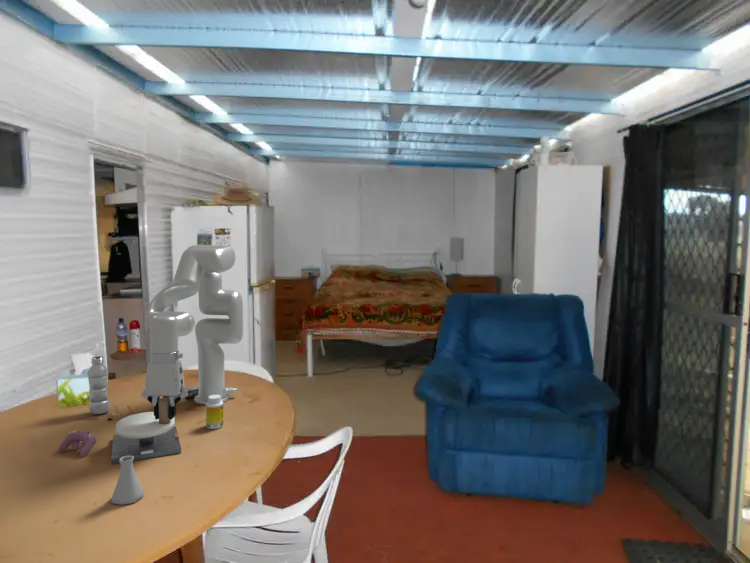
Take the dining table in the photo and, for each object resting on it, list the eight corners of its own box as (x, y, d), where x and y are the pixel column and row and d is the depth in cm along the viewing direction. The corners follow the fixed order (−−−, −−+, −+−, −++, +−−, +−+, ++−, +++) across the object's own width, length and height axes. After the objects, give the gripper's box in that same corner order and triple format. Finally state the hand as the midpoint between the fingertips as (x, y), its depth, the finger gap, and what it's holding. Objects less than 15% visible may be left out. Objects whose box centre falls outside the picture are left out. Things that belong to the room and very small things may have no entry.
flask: (118, 490, 125) (117, 452, 124) (148, 490, 126) (147, 451, 125) (105, 506, 118) (104, 465, 117) (137, 505, 118) (136, 464, 117)
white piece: (136, 416, 159) (135, 388, 158) (184, 419, 157) (184, 391, 156) (103, 436, 143) (102, 405, 142) (156, 440, 141) (155, 409, 140)
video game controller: (93, 458, 146) (101, 433, 148) (81, 457, 142) (89, 432, 144) (67, 453, 149) (76, 428, 151) (54, 452, 145) (63, 427, 147)
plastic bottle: (114, 410, 180) (112, 355, 178) (102, 417, 173) (100, 360, 171) (97, 409, 180) (95, 354, 179) (84, 416, 174) (82, 359, 172)
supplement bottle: (224, 428, 165) (223, 398, 164) (206, 430, 164) (205, 399, 163) (223, 422, 171) (222, 393, 170) (205, 424, 169) (205, 394, 168)
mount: (175, 430, 163) (175, 414, 162) (181, 453, 147) (180, 434, 146) (113, 439, 155) (112, 422, 154) (111, 464, 139) (111, 445, 138)
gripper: (196, 354, 152) (197, 413, 154) (141, 354, 151) (142, 413, 153) (188, 360, 145) (189, 422, 146) (130, 360, 144) (131, 422, 145)
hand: (165, 417), depth 149 cm, fingers open, 3 cm apart
